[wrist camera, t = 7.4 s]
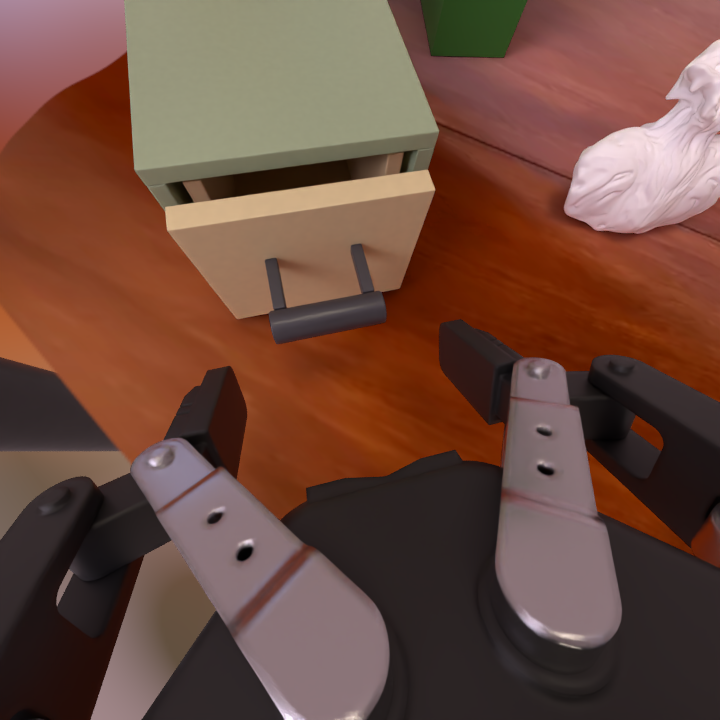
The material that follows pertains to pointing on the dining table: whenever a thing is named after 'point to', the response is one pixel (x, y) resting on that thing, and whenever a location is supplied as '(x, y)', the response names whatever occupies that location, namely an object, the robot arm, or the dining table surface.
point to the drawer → (305, 240)
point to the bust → (656, 161)
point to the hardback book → (471, 26)
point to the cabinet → (268, 88)
